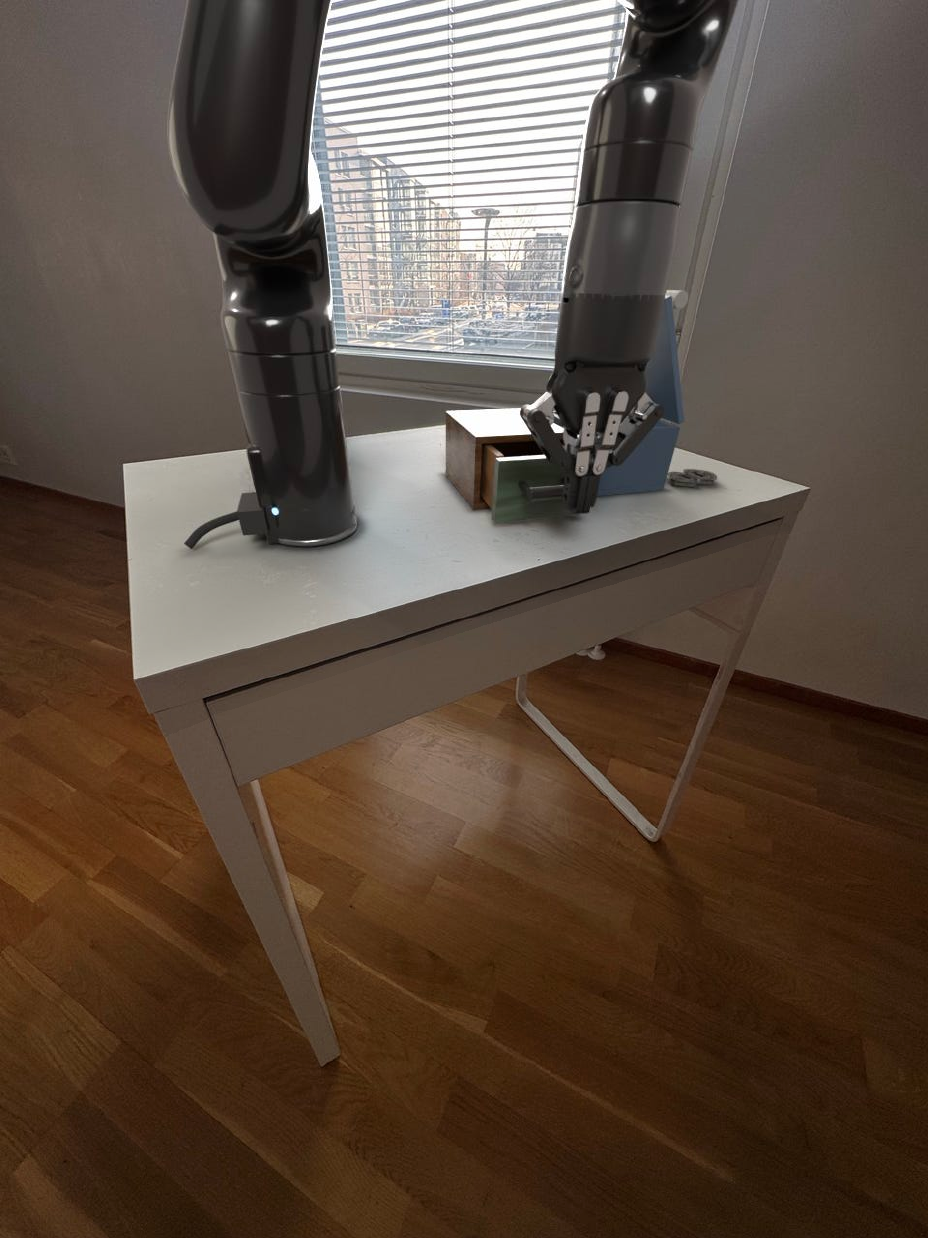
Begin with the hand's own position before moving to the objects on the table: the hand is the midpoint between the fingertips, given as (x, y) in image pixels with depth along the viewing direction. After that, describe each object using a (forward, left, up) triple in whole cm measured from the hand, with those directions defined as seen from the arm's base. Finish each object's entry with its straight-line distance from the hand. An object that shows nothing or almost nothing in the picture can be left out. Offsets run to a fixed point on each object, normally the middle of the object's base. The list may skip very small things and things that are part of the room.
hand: (576, 510), depth 45 cm
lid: (+18, +21, +10) cm, 30 cm away
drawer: (0, +12, -4) cm, 13 cm away
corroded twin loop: (+27, +17, -5) cm, 33 cm away
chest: (+15, +21, -5) cm, 26 cm away
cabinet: (0, +21, -5) cm, 21 cm away
